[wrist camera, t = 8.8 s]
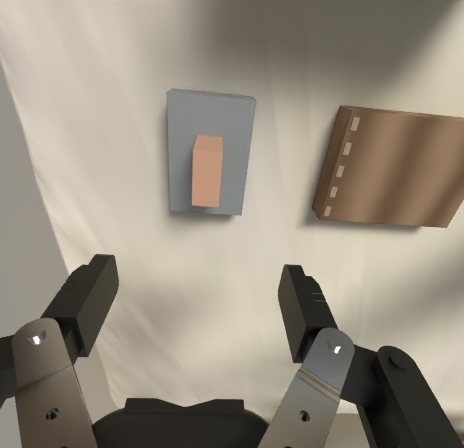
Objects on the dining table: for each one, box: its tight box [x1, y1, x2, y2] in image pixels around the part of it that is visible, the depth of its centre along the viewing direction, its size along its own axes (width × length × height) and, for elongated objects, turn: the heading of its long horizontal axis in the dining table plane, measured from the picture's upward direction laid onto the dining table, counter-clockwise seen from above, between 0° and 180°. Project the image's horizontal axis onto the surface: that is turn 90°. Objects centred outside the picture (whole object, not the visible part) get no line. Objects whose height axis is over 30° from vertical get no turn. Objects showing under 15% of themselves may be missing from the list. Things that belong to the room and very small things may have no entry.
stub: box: [167, 89, 256, 215], centre depth 26 cm, size 8×12×8 cm, turn 175°
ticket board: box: [312, 105, 464, 228], centre depth 30 cm, size 16×12×3 cm
